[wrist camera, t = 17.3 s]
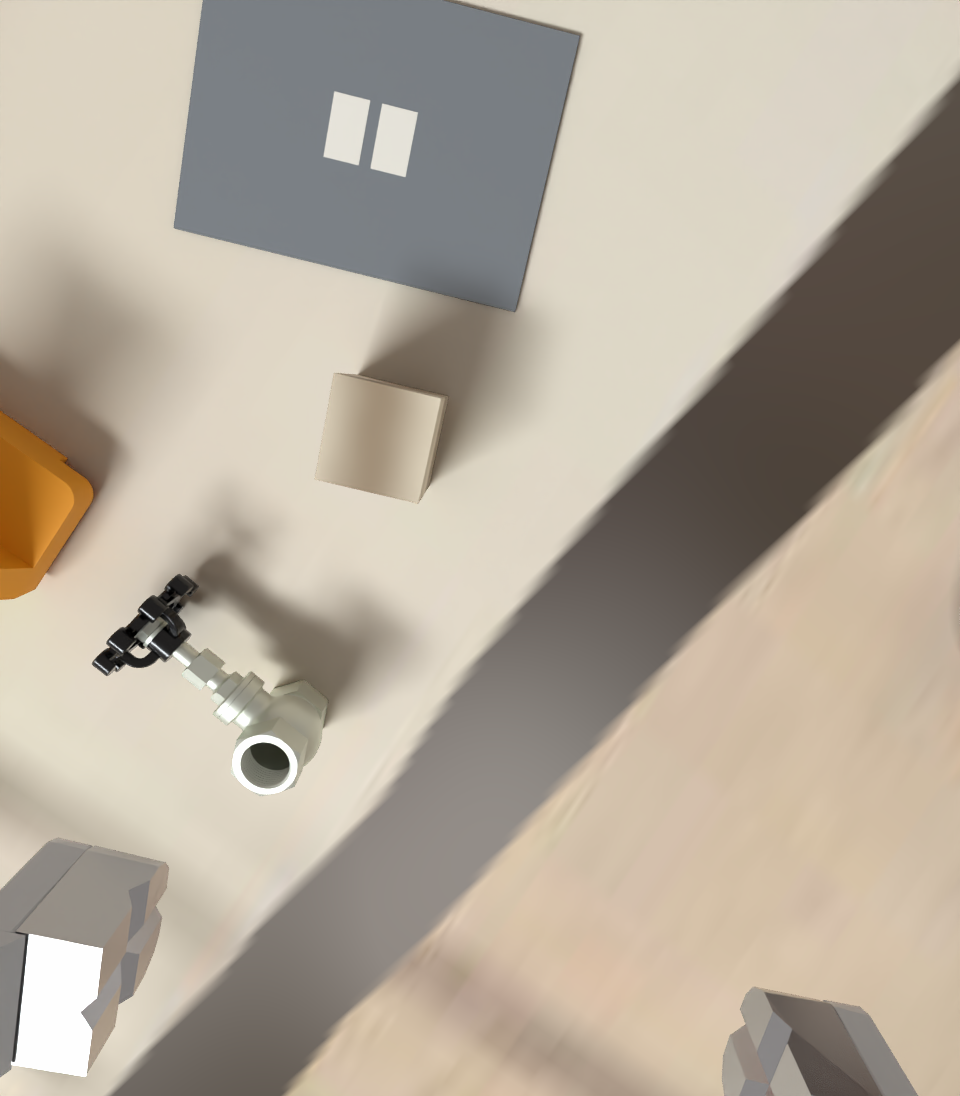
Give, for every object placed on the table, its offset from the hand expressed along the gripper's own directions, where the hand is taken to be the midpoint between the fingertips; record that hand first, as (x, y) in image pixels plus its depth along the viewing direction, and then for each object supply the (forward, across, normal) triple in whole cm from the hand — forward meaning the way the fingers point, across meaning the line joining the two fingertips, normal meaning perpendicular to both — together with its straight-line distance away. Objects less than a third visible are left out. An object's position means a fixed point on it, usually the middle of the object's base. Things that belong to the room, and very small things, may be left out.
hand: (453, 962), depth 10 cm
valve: (+32, +12, +12) cm, 35 cm away
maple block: (+31, +6, -4) cm, 32 cm away
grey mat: (+31, +10, -18) cm, 37 cm away
